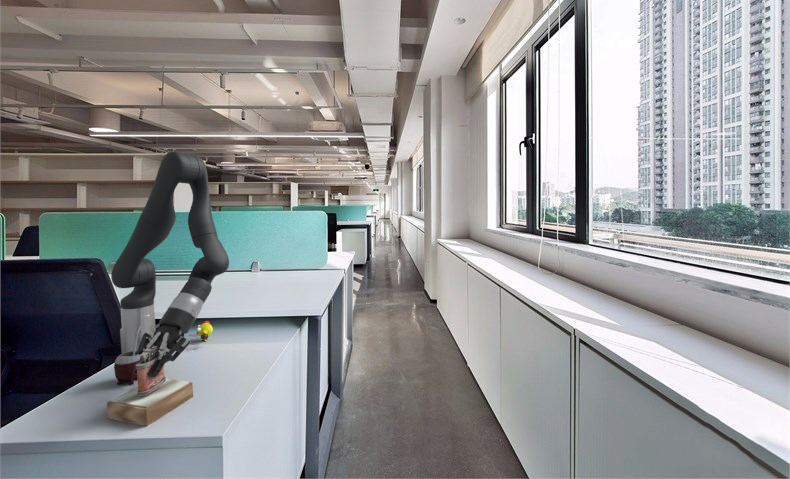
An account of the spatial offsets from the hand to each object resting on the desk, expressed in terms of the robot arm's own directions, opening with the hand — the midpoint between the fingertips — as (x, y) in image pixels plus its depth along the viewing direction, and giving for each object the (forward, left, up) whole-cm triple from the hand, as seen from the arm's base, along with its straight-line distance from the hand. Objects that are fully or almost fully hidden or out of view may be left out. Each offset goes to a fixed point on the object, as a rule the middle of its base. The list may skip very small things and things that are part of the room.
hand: (143, 374), depth 85 cm
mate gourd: (-19, +11, -10) cm, 24 cm away
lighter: (0, +2, -4) cm, 5 cm away
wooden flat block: (0, +2, -9) cm, 10 cm away
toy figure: (-22, +42, -10) cm, 49 cm away
